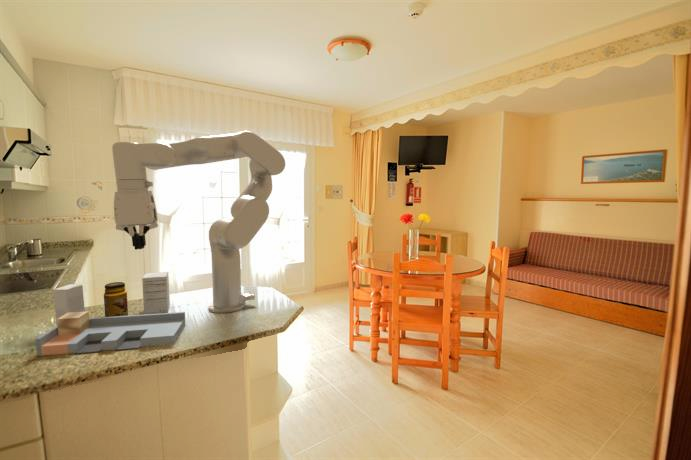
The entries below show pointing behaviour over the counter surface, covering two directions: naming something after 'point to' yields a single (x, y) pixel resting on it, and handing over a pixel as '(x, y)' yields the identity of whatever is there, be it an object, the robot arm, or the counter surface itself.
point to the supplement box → (156, 292)
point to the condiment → (115, 300)
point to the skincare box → (68, 299)
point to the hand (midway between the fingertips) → (139, 248)
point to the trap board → (115, 334)
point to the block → (73, 323)
